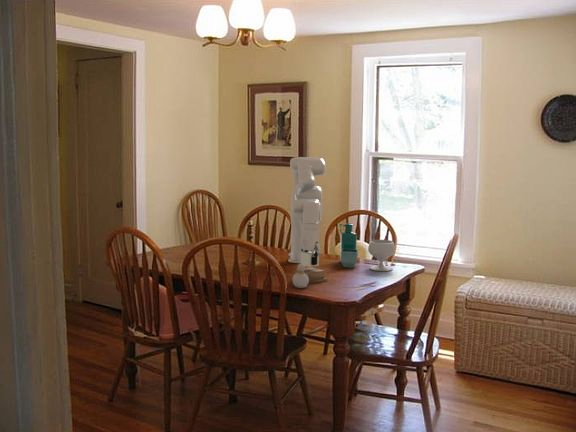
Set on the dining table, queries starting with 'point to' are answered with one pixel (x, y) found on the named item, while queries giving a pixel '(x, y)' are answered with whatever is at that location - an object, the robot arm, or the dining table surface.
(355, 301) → the dining table surface
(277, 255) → the dining table surface
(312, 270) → the walnut pedestal
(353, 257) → the flower pot
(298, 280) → the perfume bottle
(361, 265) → the dining table surface
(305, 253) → the cream block
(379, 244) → the chalice
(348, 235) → the pitcher
